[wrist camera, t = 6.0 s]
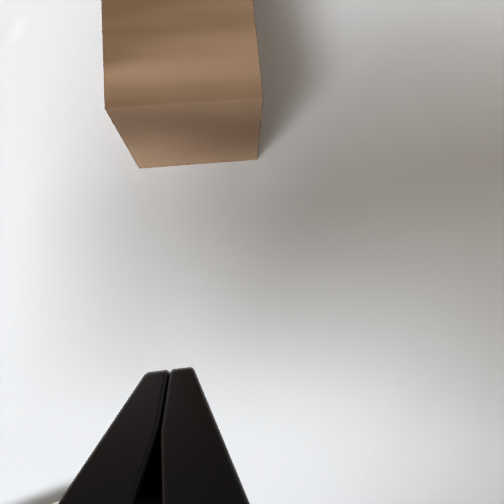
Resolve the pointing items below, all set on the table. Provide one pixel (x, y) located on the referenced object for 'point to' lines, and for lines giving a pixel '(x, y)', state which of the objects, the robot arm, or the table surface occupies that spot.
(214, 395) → the table surface
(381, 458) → the table surface
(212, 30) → the walnut block
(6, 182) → the table surface
